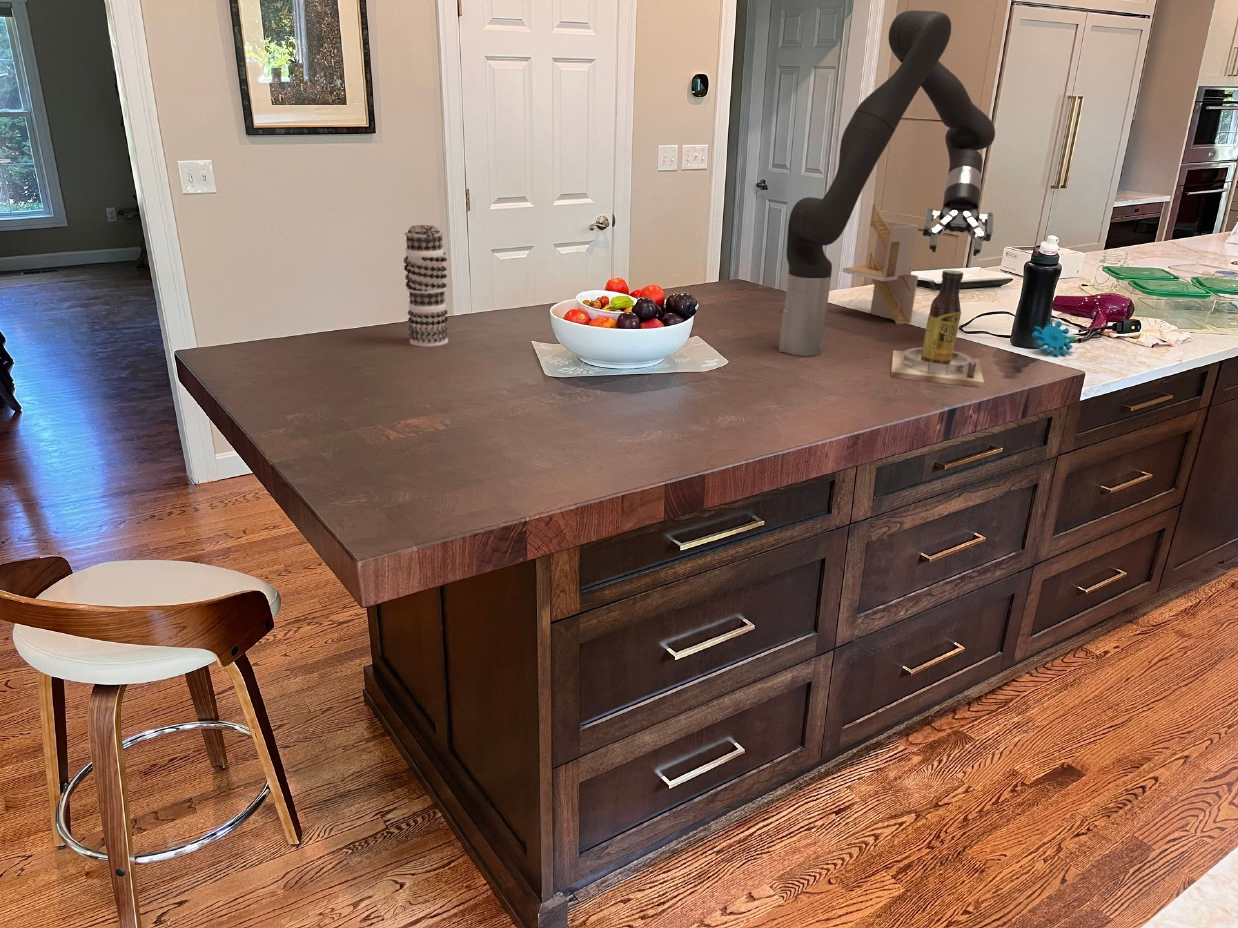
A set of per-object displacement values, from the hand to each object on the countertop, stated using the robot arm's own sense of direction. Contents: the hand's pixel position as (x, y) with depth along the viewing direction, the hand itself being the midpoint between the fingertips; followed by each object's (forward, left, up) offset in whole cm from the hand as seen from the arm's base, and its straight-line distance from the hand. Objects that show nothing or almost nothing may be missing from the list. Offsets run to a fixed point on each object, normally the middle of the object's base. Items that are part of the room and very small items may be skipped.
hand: (954, 251), depth 193 cm
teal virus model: (+26, +14, -23) cm, 37 cm away
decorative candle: (-108, -37, -23) cm, 117 cm away
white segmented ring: (0, -14, -22) cm, 26 cm away
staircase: (-14, +31, -24) cm, 41 cm away
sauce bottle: (-1, -14, -22) cm, 26 cm away
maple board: (-1, -14, -23) cm, 27 cm away
